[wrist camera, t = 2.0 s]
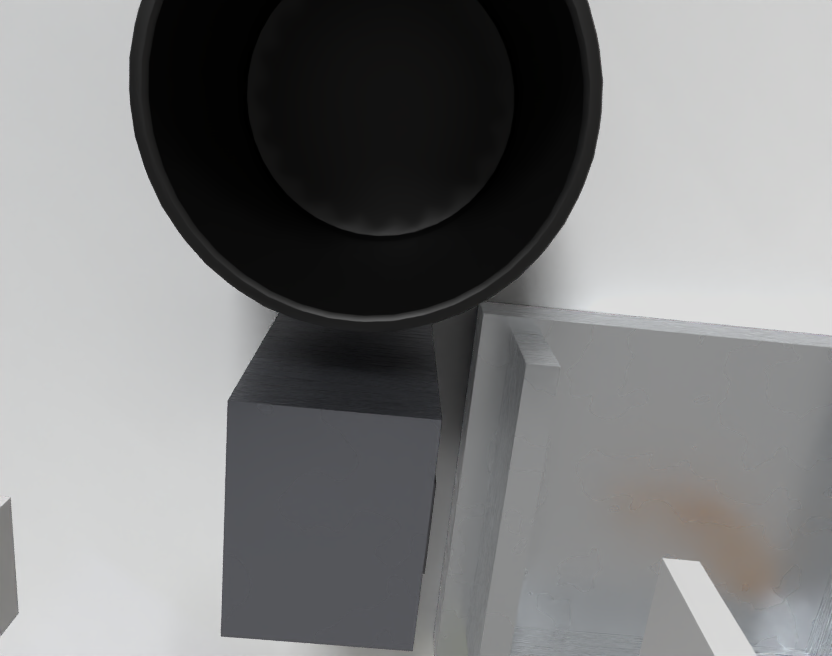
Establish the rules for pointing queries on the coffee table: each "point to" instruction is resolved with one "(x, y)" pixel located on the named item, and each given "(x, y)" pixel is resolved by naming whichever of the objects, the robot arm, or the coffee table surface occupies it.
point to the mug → (367, 145)
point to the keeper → (636, 482)
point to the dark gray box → (330, 486)
